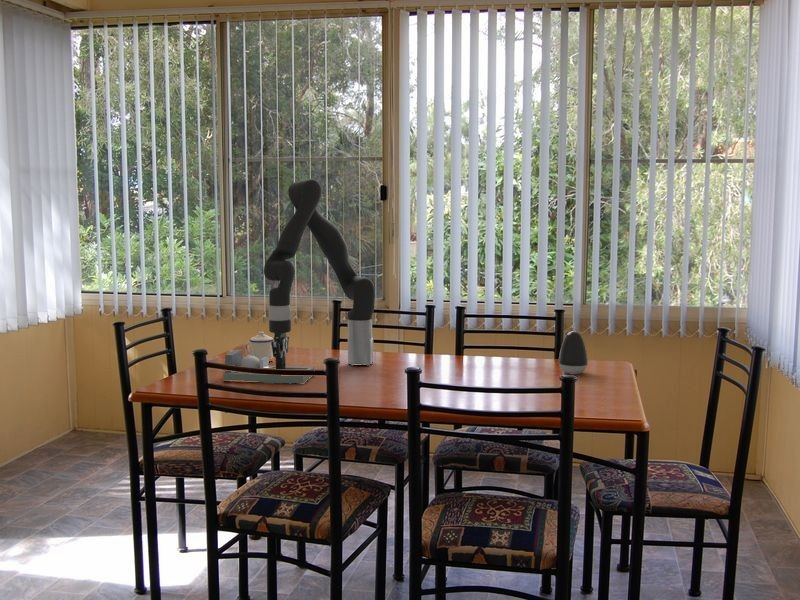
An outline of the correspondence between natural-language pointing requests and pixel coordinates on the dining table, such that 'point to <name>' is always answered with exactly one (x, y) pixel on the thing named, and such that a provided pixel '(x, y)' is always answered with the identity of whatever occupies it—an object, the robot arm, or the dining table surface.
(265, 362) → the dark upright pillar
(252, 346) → the teacup with lid
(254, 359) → the bath bomb
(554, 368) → the dining table surface
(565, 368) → the grey egg shaped speaker
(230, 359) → the press frame
